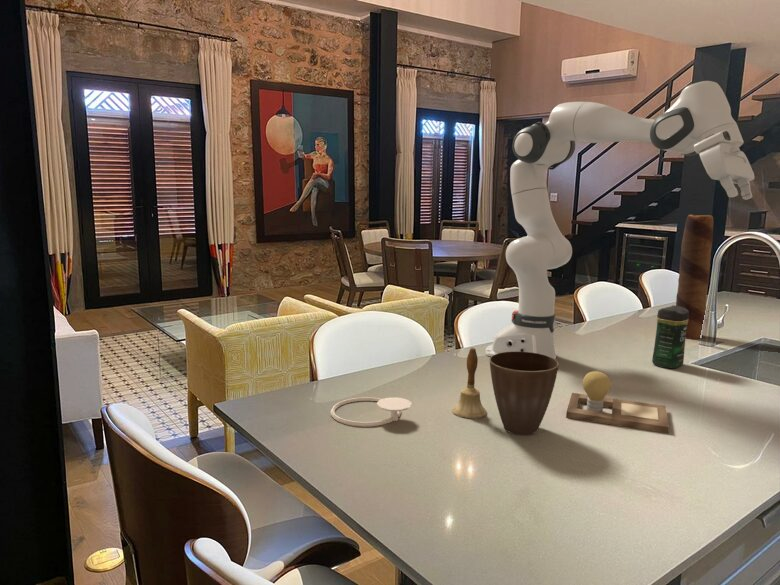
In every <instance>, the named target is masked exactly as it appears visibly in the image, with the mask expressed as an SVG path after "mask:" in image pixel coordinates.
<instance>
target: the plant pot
mask: <svg viewBox="0 0 780 585" xmlns="http://www.w3.org/2000/svg"><path fill="white" fill-rule="evenodd" d="M489 357H490V358H488V359H489V368H490V376H491V383H492V389H493V393H494V395H493V396H494V398H495V399H494V400H495V403H496V406H497V410H498V414H499V416H500V419H501V423H502V425H503V427H504V430H505V431H506V432H508V433H511V434H514V435H520V436H530V435H533V434H535V433H537V432H538V430H539V428H540V426H541V423H542V421H543V420H544V417H545V415H546V411H547V409H548V407H549V404H550V401H551V398H552V395H553V391H554V388H555V383H556V379H557V375H558V370H559V365H560V364H559V361H558V360H557V359H554V358H552V357H549V356H546V355H542V354H538V353H531V352H503V353H498V354H495V355H493V356H489Z"/></svg>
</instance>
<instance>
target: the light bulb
mask: <svg viewBox="0 0 780 585" xmlns="http://www.w3.org/2000/svg"><path fill="white" fill-rule="evenodd" d="M611 384H612V383H611V379H610V377H608V375H607V374H605V373H603V372H601V371H590V372H587V373H586V374H585V376H584V377H583V379H582V387H583V389H584V390H583V391H584V392H585V395H588V398H587V404H586V410H590V411H597V412H603V410H604V407H603V398H604V397H606V396H607V395H608V394H609V392H610V391H611V387H612V385H611Z"/></svg>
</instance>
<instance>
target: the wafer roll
mask: <svg viewBox="0 0 780 585" xmlns="http://www.w3.org/2000/svg"><path fill="white" fill-rule="evenodd" d="M682 234H683V236H682V239H681V247H680V248H681V249H680V256H679V258H680V260H679V261H680V262H679V272H678V281H677V282H678V283H677V284H678V286H677V292H676V296H675V297H676V299H675V301H676V302H675V306H680V307H685V308H686V309H687V310H688V311H689V318H688V324H687V330H686V339H689V338H690V340H692V339H695V340H700V339H699V338H700V335H701V330H702V324H703V320H704V315H705V310H706V311H707V294H708V288H709V282H710V267H711V259H712V258H711V256H712V255H711V253H712V248H713V247H712V246H713V242H714V241H713V238H714V217H713V215H711V214H704V215H703V214H701V215H695V214H688V215H687V218H686V221H685V224H684V229H683V233H682Z"/></svg>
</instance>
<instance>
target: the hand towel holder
mask: <svg viewBox="0 0 780 585" xmlns="http://www.w3.org/2000/svg"><path fill="white" fill-rule="evenodd" d="M357 401H359V402H373V401H378V402H376V405H377V406H378V407H379V408H380V409H381V410H382V411H386V412H390V417H389V418H387V419H383V420H376V421H365V422H364V421H355V420H349V419H345V418H342V417H340V416H338V415H337V414H336V410H337V409H338V408H340V407H341V406H345V405H347V404H351V402H352V403H357ZM412 403H413V402H412V401H410V400H409V399H407V398H403V397H396V396H395V397H385V398H379V397H369V396H366V397H364V396H363V397H355V398H348V399H345V400H342V401H339V402H337V403H335V404H334V405H333V407H332V408H330V416H331V417H332V418H333V419H334V420H335V421H337V422H338V423H341V424H343V425H347V426H351V427H352V426H353V427H359V428H360V427H369V428H370V427H372V428H373V427H378V426H379V425H380V426H384V425H388V424H390V422H391V423H393V422H392V421H396V422H398V420H399V418H400V417H401V414H402V411H407V410H408V409H409V408H410V407H411V406H412ZM398 417H399V418H398ZM387 423H388V424H387ZM380 426H379V427H380Z"/></svg>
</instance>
